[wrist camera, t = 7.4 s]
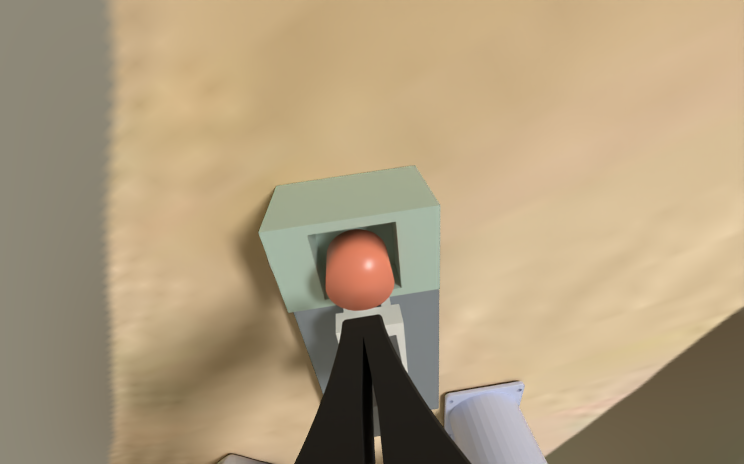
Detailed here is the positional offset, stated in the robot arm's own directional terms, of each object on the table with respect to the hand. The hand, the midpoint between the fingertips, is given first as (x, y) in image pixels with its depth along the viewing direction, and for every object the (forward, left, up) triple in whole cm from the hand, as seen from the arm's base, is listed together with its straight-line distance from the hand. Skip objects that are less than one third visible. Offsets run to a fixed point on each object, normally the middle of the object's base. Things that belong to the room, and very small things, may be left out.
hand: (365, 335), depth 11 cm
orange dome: (0, 0, -5) cm, 5 cm away
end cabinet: (0, 0, -9) cm, 9 cm away
